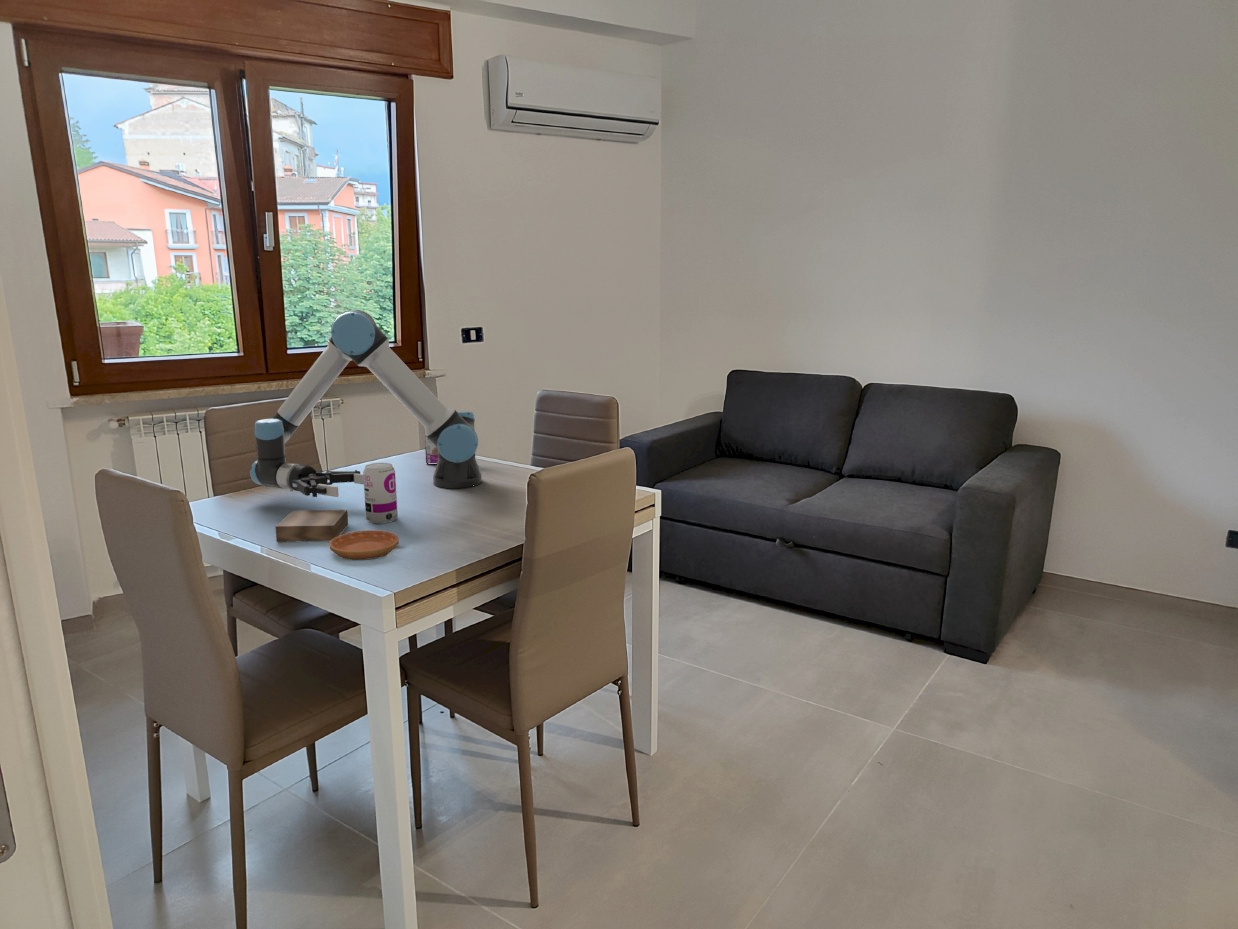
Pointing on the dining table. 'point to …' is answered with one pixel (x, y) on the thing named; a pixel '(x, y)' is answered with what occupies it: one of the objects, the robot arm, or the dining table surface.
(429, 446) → the candy bar box
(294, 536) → the podium
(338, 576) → the dining table surface
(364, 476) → the supplement can
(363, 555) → the saucer
